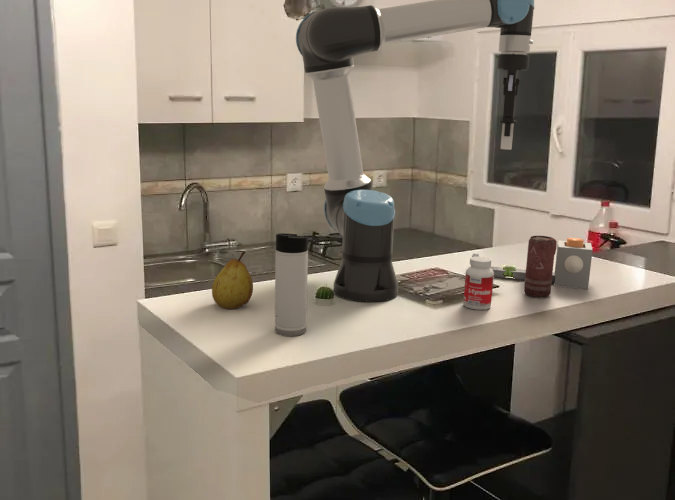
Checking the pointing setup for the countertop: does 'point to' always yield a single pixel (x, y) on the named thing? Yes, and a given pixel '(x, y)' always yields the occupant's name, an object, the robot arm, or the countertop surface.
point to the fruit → (232, 285)
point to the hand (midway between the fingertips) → (506, 149)
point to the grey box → (573, 265)
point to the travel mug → (291, 284)
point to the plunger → (575, 242)
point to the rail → (518, 274)
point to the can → (539, 266)
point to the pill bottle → (478, 284)
